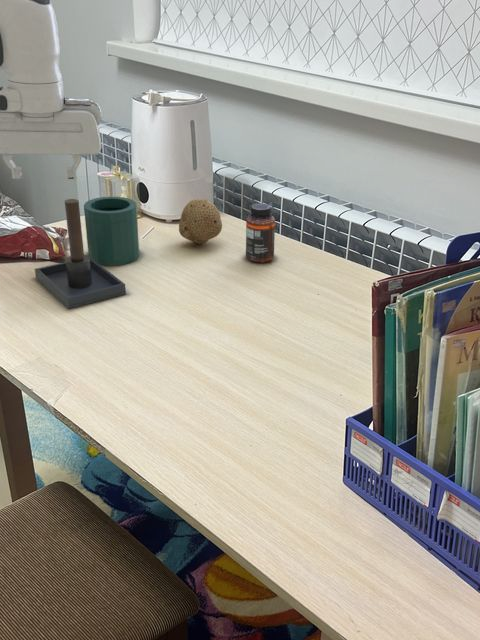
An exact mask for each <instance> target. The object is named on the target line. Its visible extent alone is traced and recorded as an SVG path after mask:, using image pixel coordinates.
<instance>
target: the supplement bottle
mask: <svg viewBox="0 0 480 640" xmlns="http://www.w3.org/2000/svg"><path fill="white" fill-rule="evenodd" d="M271 210H272V206H271V205H270V204H267V203H261V202H259V203H258V202H257V203H253V204H252V205H251V207H250V214H248V215H247V217H246V221H245V223H246V224H245V257H246V260H248V261H250V262H252V263H253V262H254V263H259V264H260V263H261V264H262V263H268V262H271V261H272V260H273V259H274V258H275V239H276V236H275V234H276V219H275V217H274V216H273V215H272V214H271V213H272V211H271Z"/></svg>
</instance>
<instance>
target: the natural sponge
mask: <svg viewBox="0 0 480 640" xmlns="http://www.w3.org/2000/svg"><path fill="white" fill-rule="evenodd" d="M222 230H223V222H222V219H221V214H220V211H219V209H218V208H217V206H216V205H215V204H214V203H212V201H210V200H208V199H207V198H194V199H191V200H190V201H189V202H187V203H186V204H185V206H184V208H183V210H182V212H181V215H180V219H179V224H178V232H179V234H180V236H181V237H182V238H184V239H186V240H188V241H190V242H192V243H194V244H198V245H203V244H206V243H207V242H208V241H209V240H211V239H215V238H216V237H217V236H219V235H220V233H221V231H222Z"/></svg>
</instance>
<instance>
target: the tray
mask: <svg viewBox="0 0 480 640" xmlns="http://www.w3.org/2000/svg"><path fill="white" fill-rule="evenodd" d="M90 265H91V275H92V285H91V286H89V287H86V288H81V289H77V288H71V287H70V286H69V285H68V279H67V270H66V261H64V262H60V263H54V264H50V265H46V266H41V267H37V268H34V273H35V274H34V275H35V280H37V281H38V282H39V283H40V284H41V285H42V286H43V287H44V288H45V289H46V290H48V292H50V294H52V296H54V297H55V298H56V299H57V300H58V301H59V302H61V303H62V304H63V306H65V307H66V308H67V309H68V310H70V309H75V308H78V307H82V306H86V305H89V304H94V303H99V302H103V301H105V300H109V299H113V298H117V297H120V296H121V297H122V296H124V295H127V293H126V284H125V283H124V281H122V280H121V279H119V278H118V277H117V276H115V275H114V274H113V273H112V272H111V271H110V270H108V269H107V268H105V267H104V266H103V265H100V264H98V263H97V262H96V261H94V260H93V259H92V258H90Z"/></svg>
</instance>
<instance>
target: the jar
mask: <svg viewBox="0 0 480 640" xmlns="http://www.w3.org/2000/svg"><path fill="white" fill-rule="evenodd" d="M83 212H84V222H85V233H86V242H87V253H88V256H89V257H90V258H92V259H93V260H94V261H96V262H97V263H98V264H100V265H101V266H107V267H108V266H110V267H111V266H114V267H115V266H123V265H127V264H131V263H133V262H135V261H136V260H138V259H139V257H140V244H139V243H140V242H139V241H140V239H139V226H138V224H139V223H138V206H137V202H136V201H135V200H133V199H131V198H127V197H124V196H101V197H95V198H92V199H90V200H87V201H86V202H85V203H84V204H83Z"/></svg>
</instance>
